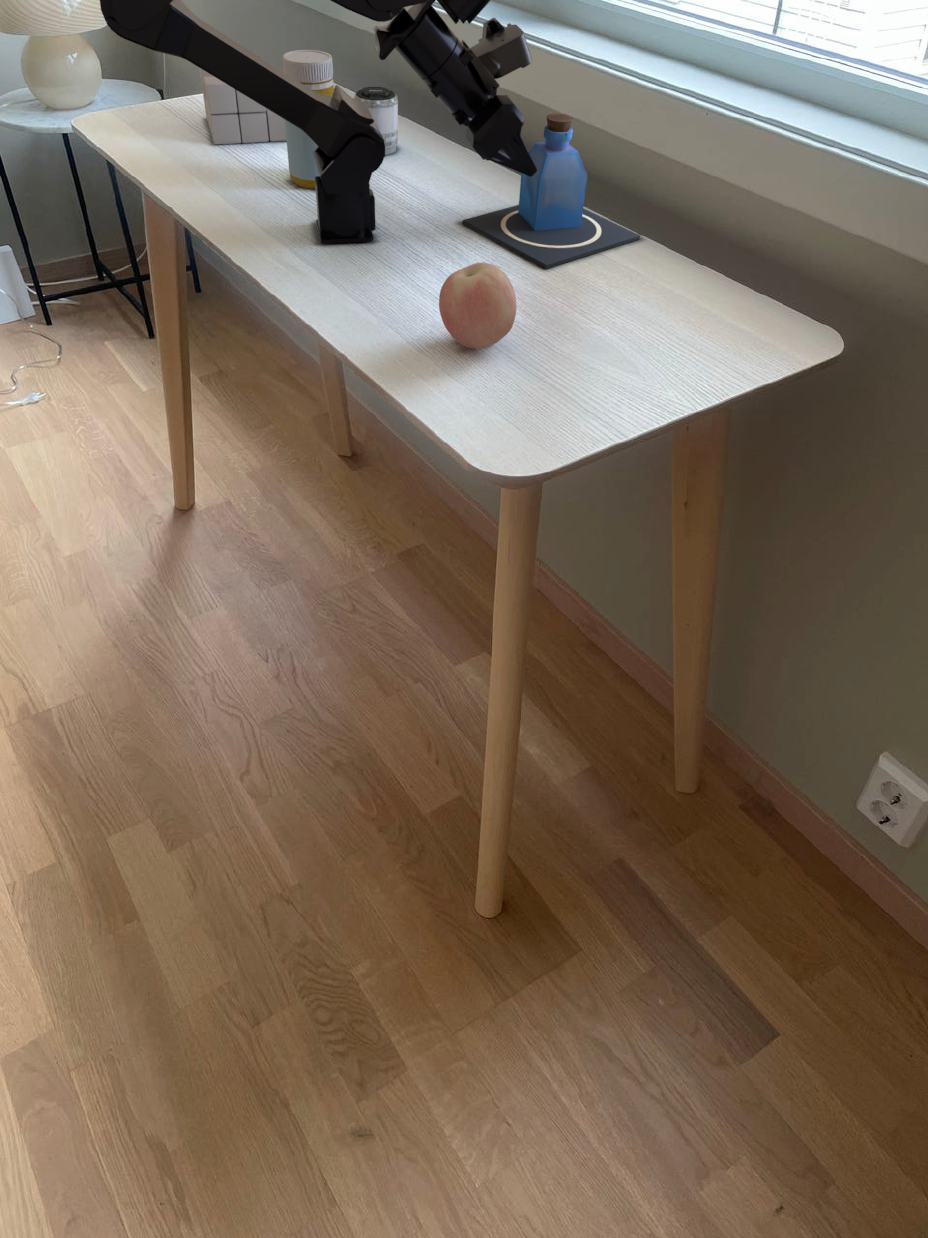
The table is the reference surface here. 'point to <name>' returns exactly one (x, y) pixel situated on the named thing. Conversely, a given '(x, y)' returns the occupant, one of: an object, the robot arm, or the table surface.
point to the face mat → (550, 236)
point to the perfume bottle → (554, 180)
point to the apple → (478, 305)
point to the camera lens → (382, 113)
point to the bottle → (318, 77)
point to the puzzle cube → (238, 115)
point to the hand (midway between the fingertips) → (524, 159)
